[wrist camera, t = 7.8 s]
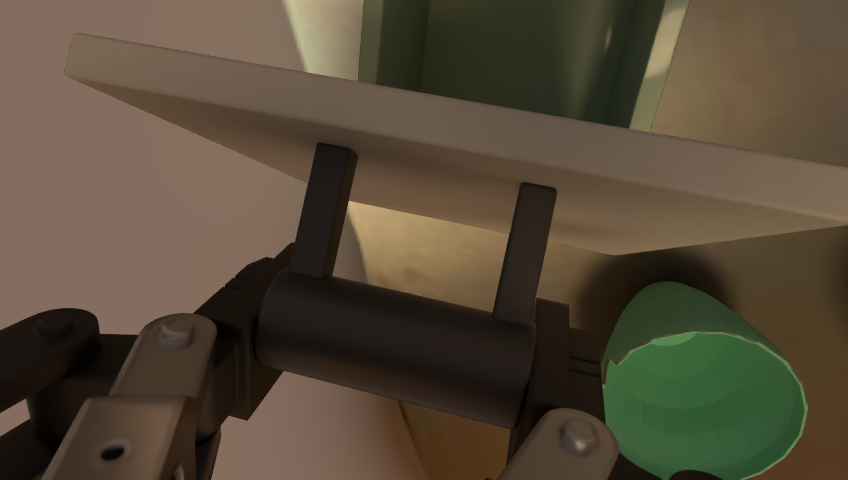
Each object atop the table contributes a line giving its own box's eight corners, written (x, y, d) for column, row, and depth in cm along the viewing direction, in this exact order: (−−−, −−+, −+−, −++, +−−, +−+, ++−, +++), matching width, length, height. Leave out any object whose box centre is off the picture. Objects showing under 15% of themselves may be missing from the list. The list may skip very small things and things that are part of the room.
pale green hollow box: (438, -173, 30) (382, -248, 21) (691, -147, 28) (755, -216, 19) (402, 138, 37) (348, 188, 28) (602, 176, 35) (616, 243, 26)
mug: (580, 254, 37) (585, 337, 28) (746, 236, 35) (810, 322, 26) (604, 432, 42) (615, 550, 33) (750, 429, 40) (805, 556, 31)
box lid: (70, 29, 10) (1, 330, 10) (874, 169, 8) (799, 544, 8) (347, 183, 27) (323, 291, 27) (619, 238, 25) (595, 355, 25)
